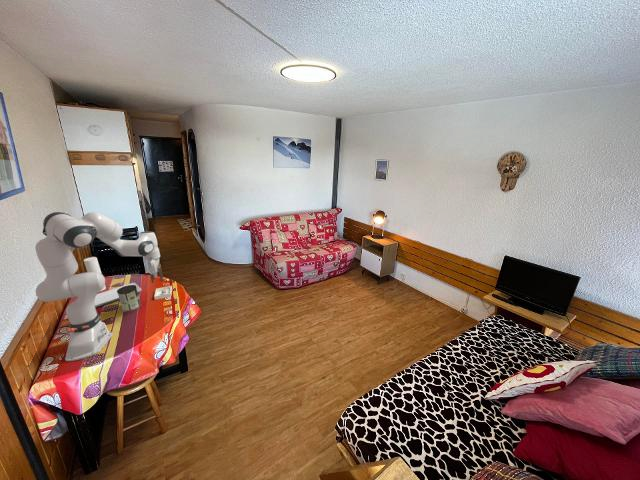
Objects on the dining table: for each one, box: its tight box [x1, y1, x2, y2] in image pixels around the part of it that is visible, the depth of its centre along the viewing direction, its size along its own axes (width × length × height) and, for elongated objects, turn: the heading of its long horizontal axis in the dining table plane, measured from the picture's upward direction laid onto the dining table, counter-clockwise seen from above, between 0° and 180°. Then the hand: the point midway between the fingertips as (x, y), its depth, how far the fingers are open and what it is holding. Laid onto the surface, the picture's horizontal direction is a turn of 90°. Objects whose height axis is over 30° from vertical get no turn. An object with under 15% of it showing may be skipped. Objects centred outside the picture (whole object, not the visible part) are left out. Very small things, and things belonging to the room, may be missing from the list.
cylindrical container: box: [83, 256, 107, 293], centre depth 189 cm, size 7×7×25 cm
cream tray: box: [153, 285, 173, 301], centre depth 186 cm, size 12×10×3 cm
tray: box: [94, 282, 142, 309], centre depth 182 cm, size 17×32×4 cm, turn 139°
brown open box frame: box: [149, 263, 164, 284], centre depth 171 cm, size 6×6×10 cm
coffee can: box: [117, 284, 142, 313], centre depth 169 cm, size 10×10×14 cm
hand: (156, 274), depth 171 cm, fingers closed on brown open box frame, 5 cm apart
